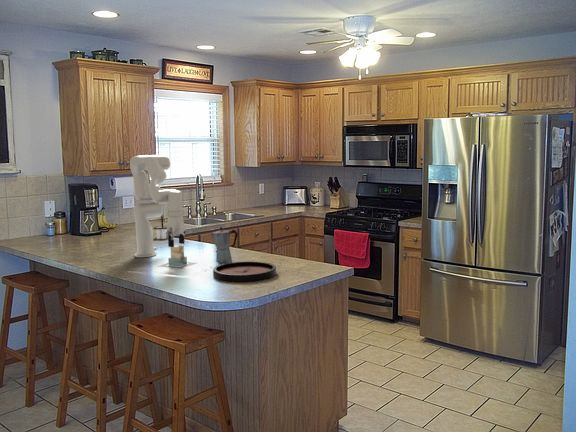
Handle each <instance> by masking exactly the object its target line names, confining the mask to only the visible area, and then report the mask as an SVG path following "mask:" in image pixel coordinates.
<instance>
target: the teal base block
mask: <svg viewBox="0 0 576 432" xmlns="http://www.w3.org/2000/svg"><path fill="white" fill-rule="evenodd" d="M187 262H188V258H187V256H185V255H184V257H182V258H171V257H168V263H169V266H182V265H185V264H187Z"/></svg>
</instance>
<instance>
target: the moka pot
mask: <svg viewBox="0 0 576 432" xmlns="http://www.w3.org/2000/svg"><path fill="white" fill-rule="evenodd" d="M233 234H235V235H234V239H233V244H231V245H230V243H231V242H230V241H231V235H233ZM238 235H239V234H238V232H237V230H235V229H232V230H225V229H223V227H222V226H220V227H219V230H217V231H213V232H210V234H209V236H211V238H212V239H213V242H214V246H215V247H216V248H215V249H216V251H215V253H216V258H215V262H217V263H218V265H222V264H226V263H232V262H233V259H232V254H231V250H230V249H231V248H230V247H235V246H236V243H237V238H238Z"/></svg>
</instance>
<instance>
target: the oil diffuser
mask: <svg viewBox="0 0 576 432" xmlns="http://www.w3.org/2000/svg"><path fill="white" fill-rule="evenodd" d="M163 215H164V214H162V216H161V217H160V218H161V220H160V221H161V225H156V226H155V227H152V230H156V240H166V239H167V237H166V231H167V225H164V217H163Z"/></svg>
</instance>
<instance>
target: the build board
mask: <svg viewBox="0 0 576 432" xmlns="http://www.w3.org/2000/svg"><path fill="white" fill-rule="evenodd" d="M196 264H198V262H191V261H187V264H185V265H182V266H169V262H167V263H164V264H161V265H158V266H157V267H160V268H170V269H171V268H172V269H185V268H188V267H190V266H193V265H196Z"/></svg>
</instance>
